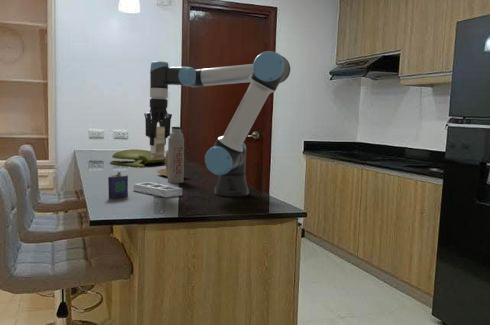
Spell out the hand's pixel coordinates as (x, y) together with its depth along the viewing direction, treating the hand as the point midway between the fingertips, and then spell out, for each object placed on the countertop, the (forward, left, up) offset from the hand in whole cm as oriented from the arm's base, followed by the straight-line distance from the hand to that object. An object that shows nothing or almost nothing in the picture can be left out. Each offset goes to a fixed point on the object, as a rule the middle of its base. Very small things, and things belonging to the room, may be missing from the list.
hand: (157, 152), depth 201 cm
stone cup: (+36, -39, -18) cm, 56 cm away
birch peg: (0, 0, -3) cm, 3 cm away
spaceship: (+95, -61, -18) cm, 114 cm away
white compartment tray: (0, 0, -18) cm, 18 cm away
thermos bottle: (+20, -28, -18) cm, 39 cm away
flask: (+1, +19, -18) cm, 26 cm away
